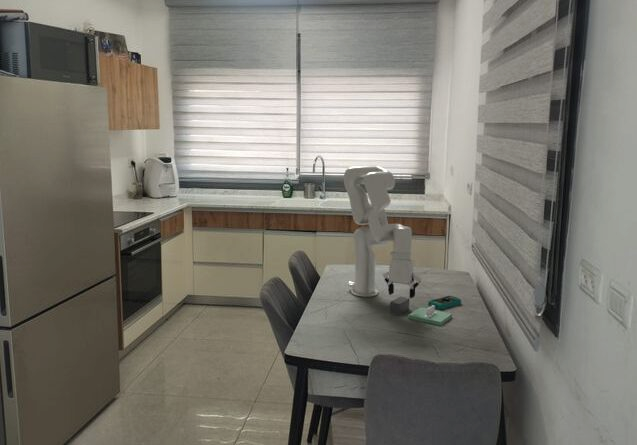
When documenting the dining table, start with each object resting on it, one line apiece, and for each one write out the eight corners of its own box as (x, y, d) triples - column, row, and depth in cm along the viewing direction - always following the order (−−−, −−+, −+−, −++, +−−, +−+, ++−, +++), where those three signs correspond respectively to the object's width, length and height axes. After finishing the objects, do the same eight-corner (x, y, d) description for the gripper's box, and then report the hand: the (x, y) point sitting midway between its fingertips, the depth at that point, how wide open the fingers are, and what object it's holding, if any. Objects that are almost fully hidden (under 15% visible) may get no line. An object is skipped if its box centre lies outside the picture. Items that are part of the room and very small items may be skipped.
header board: (408, 318, 224) (408, 307, 223) (420, 310, 233) (421, 300, 232) (440, 325, 216) (440, 314, 215) (451, 317, 225) (452, 306, 224)
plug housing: (389, 312, 230) (390, 301, 229) (399, 307, 237) (400, 296, 236) (399, 315, 227) (399, 303, 227) (409, 309, 235) (409, 298, 234)
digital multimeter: (462, 304, 243) (462, 298, 243) (440, 311, 234) (440, 304, 234) (449, 300, 249) (449, 294, 248) (427, 306, 240) (427, 300, 240)
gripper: (379, 255, 230) (379, 294, 232) (417, 259, 220) (416, 301, 222) (388, 252, 236) (387, 290, 238) (425, 256, 226) (424, 296, 228)
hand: (401, 295), depth 230 cm, fingers open, 9 cm apart
